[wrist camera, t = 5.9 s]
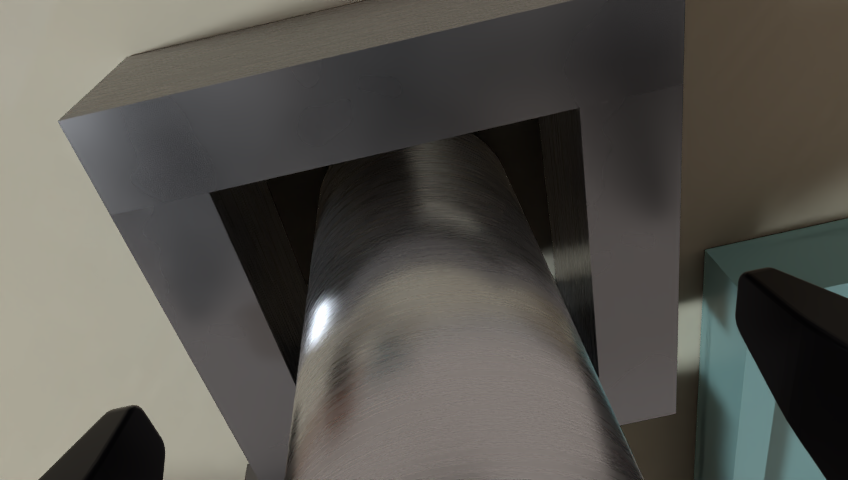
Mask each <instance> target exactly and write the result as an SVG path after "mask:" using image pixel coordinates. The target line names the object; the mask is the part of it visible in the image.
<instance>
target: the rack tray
mask: <svg viewBox="0 0 848 480" xmlns="http://www.w3.org/2000/svg"><path fill="white" fill-rule="evenodd" d="M765 267H772V268H775V269H778V270H780V271H783V272H785V273H788V274H790V275H792V276H795V277H797V278H800V279H802V280H805V281H807V282H810V283H812V284H814V285H817V286H819V287H822V288H824V289H827V290H829V291H832V292H834V293H836V294H839V295H841V296H844V297H846V298H848V218H847V219H843V220H838V221H834V222H829V223H825V224H820V225H816V226H811V227H806V228H802V229H797V230H793V231H788V232H784V233H779V234H775V235H770V236H766V237H761V238H756V239H752V240H747V241H743V242H738V243H734V244H729V245H725V246H720V247H716V248H711V249H706V250H705V262H704V282H703V302H702V323H701V343H700V364H699V384H698V404H697V425H696V445H695V465H694V480H826V479H825V477H824V476H823V474H822V473H821V471H820V470H819V468H818V467H817V465H816V464H815V462H814V461H813V459H812V458H811V457H810V455H809V454H808V452H807V451H806V449H805V448H804V446H803V445H802V443H801V442H800V440H799V439H798V437H797V436H796V434H795V433H794V431H793V430H792V428H791V427H790V425H789V424H788V422H787V420H786V419H785V417H784V415H783V413H782V412H781V410H780V408H779V406H778V404H777V403H776V401H775V399H774V397H773V395H772V393H771V391H770V389H769V387H768V386H767V384H766V382H765V380H764V378H763V376H762V374H761V372H760V370H759V369H758V367H757V365H756V363H755V361H754V359H753V357H752V355H751V353H750V352H749V350H748V348H747V346H746V344H745V342H744V340H743V338H742V336H741V335H740V333H739V330H738V328H737V325H736V320H735V311H736V299H737V288H738V280H739V277H740V275H741V274H742V273H744V272H746V271H751V270H756V269H760V268H765Z"/></svg>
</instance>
